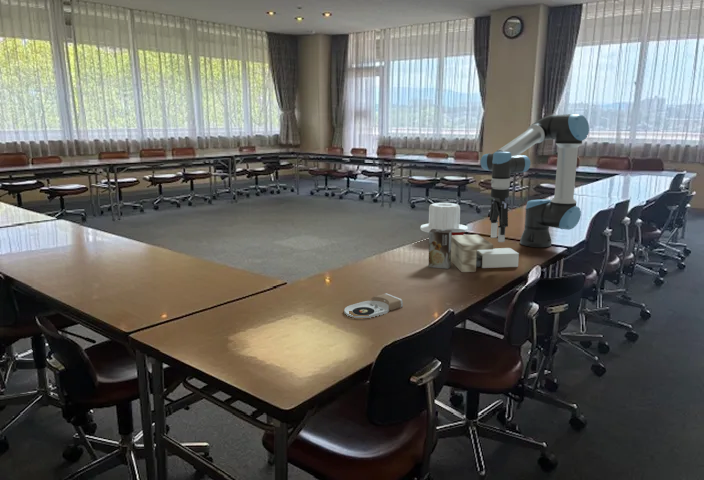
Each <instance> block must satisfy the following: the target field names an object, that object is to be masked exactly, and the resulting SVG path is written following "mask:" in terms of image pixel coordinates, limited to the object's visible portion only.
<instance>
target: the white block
mask: <svg viewBox="0 0 704 480" xmlns="http://www.w3.org/2000/svg"><path fill="white" fill-rule="evenodd" d="M519 255H520V253H519V252H517V251H516V250H514V249H513V248H511V247H501V248H499V247H498V248H497V247H496V248H494V247H493V249H490V250H477V256H476V258H478V257H481V258H482V267H481V269H489V268H490V269H494V268H496V269H498V268H518V267H519V258H520V256H519Z"/></svg>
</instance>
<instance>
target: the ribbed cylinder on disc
mask: <svg viewBox="0 0 704 480" xmlns="http://www.w3.org/2000/svg"><path fill="white" fill-rule="evenodd" d="M460 218H461V206H460V204H457V203H452V202H434V203H431V204H429V206H428V223H425V224H424V223H423V224H421V225H420V228H419V229H420V230H421V231H422V232H424V233H428V234H429V231H430V230H431V229H441V230H443V229H464V230H465V232H464V233H466V232H467V231H468V230H469V228H468V226H466V225H464V224H460V222H461V219H460Z"/></svg>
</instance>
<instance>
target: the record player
mask: <svg viewBox="0 0 704 480" xmlns="http://www.w3.org/2000/svg"><path fill="white" fill-rule="evenodd" d="M403 307H404V301H403V299H402V298H399V297H397V296H395V295H392V294H389V293H387V292H386V293H383V294H378V295H375V296H372V297H371V300H365V301H364V300H363V301H360V302H356V303H354V304H350V305H348V306H345V308H344V309H343V310H344V315H345V314H346V315H347V316H346V315H345V316H346V317H348V316H350V317H354V318H370V319H372V318H371V317H374V318H376V317H375V316H377V317H380V316H384V315H386V314H388V313H389V312H390V310H391V311H394V310H397V309H400V308H403ZM349 311H352V312H353V313H354V314H357V315H369V316H353V315H351V314H349ZM383 314H384V315H383ZM379 315H380V316H379ZM350 317H349V318H350ZM354 318H353V319H354Z"/></svg>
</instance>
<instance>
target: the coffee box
mask: <svg viewBox="0 0 704 480" xmlns="http://www.w3.org/2000/svg"><path fill="white" fill-rule="evenodd" d="M451 237H452V230H441V229H431V230H430V231H429V233H428V268H434V269H435V268H437V269H446V270H447V269H448V270H449V269H450V268H451V267H452V262H451Z"/></svg>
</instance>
